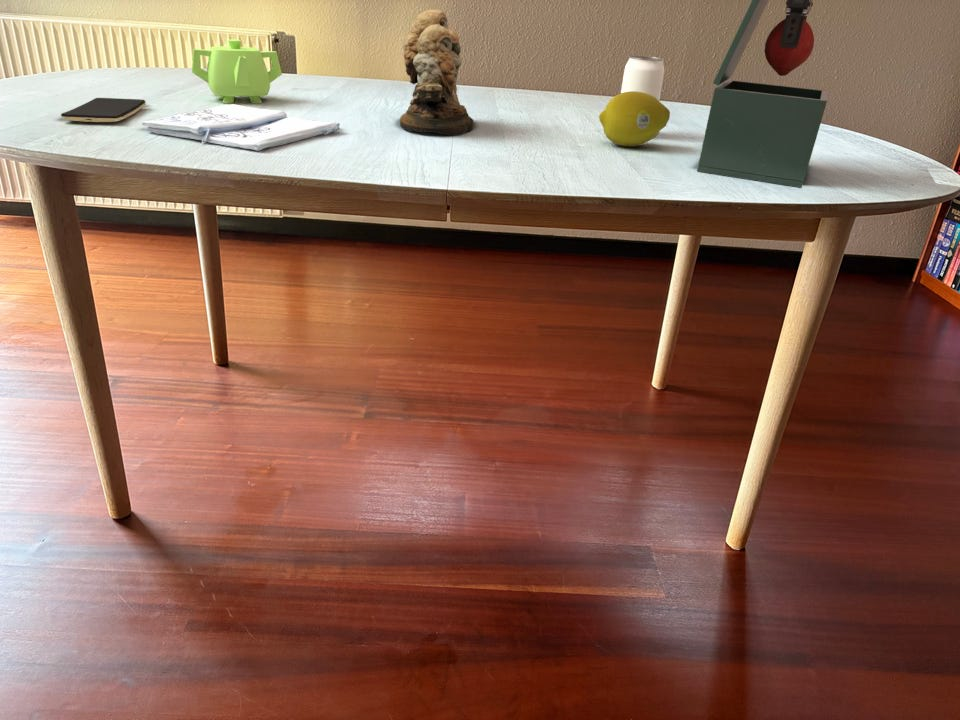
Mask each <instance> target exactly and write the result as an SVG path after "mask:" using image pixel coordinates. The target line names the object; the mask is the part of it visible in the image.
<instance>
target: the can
mask: <svg viewBox="0 0 960 720" xmlns="http://www.w3.org/2000/svg"><path fill="white" fill-rule="evenodd" d="M664 61H665V59H664V58H663V57H655V56H646V55H629V56H628V60H627V62H626V64H625V66H624V71H623V76H622V83H621V89H620V94H621V93H624V92H631V91H635V92H642V93H646V94H649V95H651V96H653V97H655V98H656V99H657V100H658V101H659V102H660V99H661V93H662V88H663V83H664V77H665V65H664Z"/></svg>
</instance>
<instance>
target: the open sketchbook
mask: <svg viewBox="0 0 960 720" xmlns="http://www.w3.org/2000/svg"><path fill="white" fill-rule="evenodd" d="M141 125H142V126H144V127H145V128H146V129H145V130H146V131H147V132H148V133H151V134H156V135H157V134H158V135H163V136H171V137H175V138H185V139H190V140H197V141H201V144H202V145H203V144H206V143H211V144H213V145H214V144H216V145H221V146H227V147H231V148H232V147H235V148H241V149H247V150H253V151H258V152H259V151H261V150H264V149H267V148H273V147H278V146H282V145H286V144H287V145H288V144H290V143H294V142H298V141H300V140H301V141H302V140H306V139H308V138H312V137H316V136H320V135H324V136H325V135H328V134H330V133H334V132H338V134H339V133H340V125H341V124H340V122H337V121H319V120H317V121H314V120H310V119H306V118H299V117H294V116H287V113H286V112H285V111H283V110H275V109H273V110H272V109H266V108H257V107H250V106H245V105H238V104H235V103H230V104H225V105H217V106H213V107H210V108H206V109H201V110H195V111H188V112H184V113H179V114H174V115H170V116H167V117H161V118H157V119H148V120H144V121H142V122H141Z"/></svg>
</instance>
